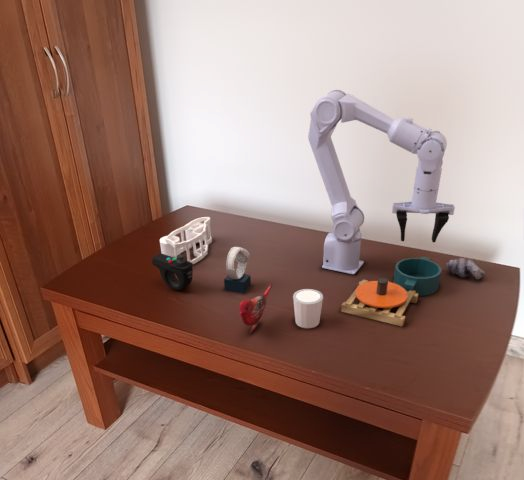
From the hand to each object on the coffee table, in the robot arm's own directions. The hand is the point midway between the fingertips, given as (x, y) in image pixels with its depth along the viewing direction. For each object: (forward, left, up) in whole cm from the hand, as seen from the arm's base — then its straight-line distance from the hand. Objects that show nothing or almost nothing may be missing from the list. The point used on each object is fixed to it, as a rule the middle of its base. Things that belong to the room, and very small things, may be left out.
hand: (417, 240), depth 134 cm
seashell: (+12, +6, -11) cm, 17 cm away
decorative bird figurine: (-26, -38, -11) cm, 47 cm away
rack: (-3, -18, -10) cm, 21 cm away
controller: (-54, -32, -11) cm, 64 cm away
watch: (-39, -25, -11) cm, 48 cm away
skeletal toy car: (-62, -13, -11) cm, 64 cm away
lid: (-3, -18, -7) cm, 20 cm away
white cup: (-16, -32, -11) cm, 37 cm away
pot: (+2, -4, -10) cm, 11 cm away
